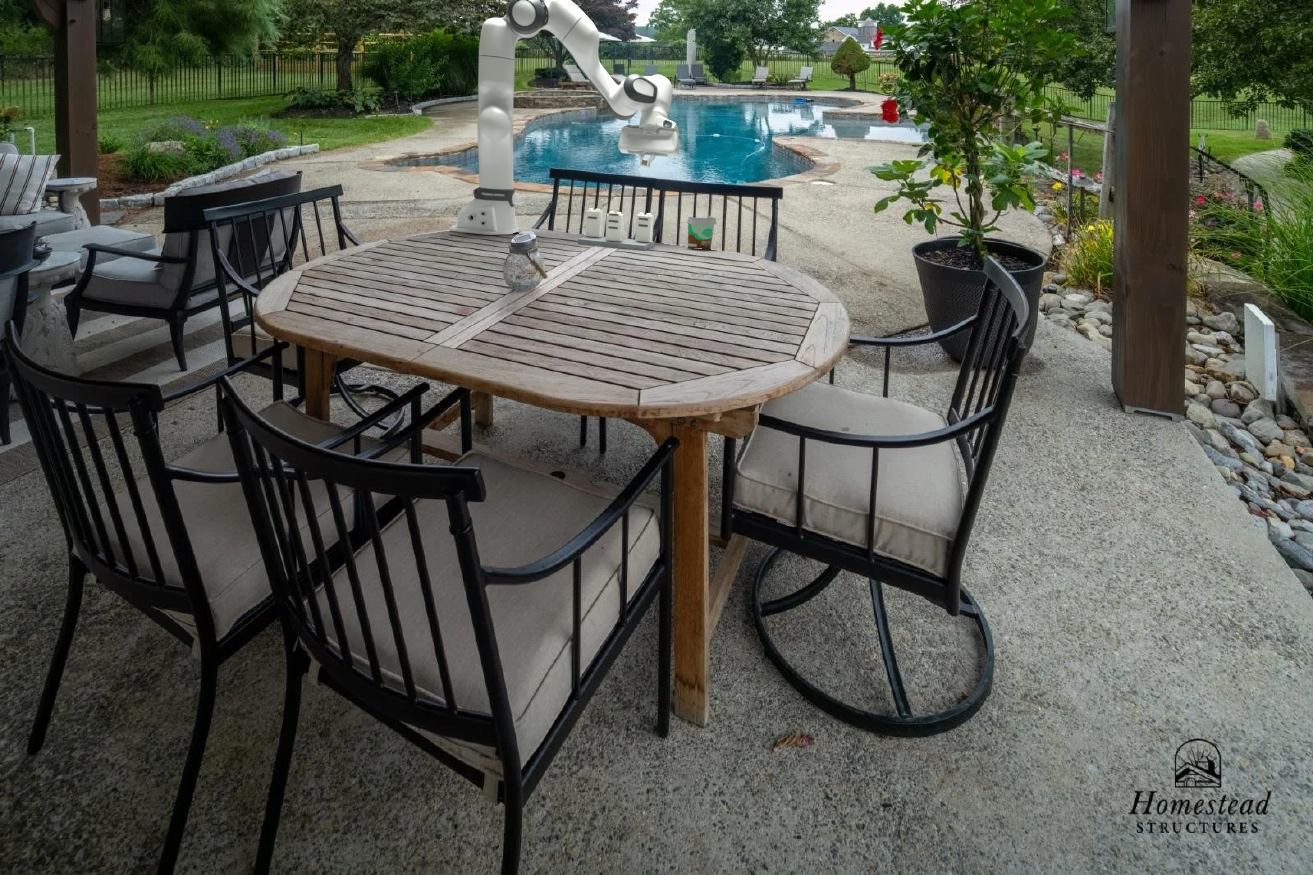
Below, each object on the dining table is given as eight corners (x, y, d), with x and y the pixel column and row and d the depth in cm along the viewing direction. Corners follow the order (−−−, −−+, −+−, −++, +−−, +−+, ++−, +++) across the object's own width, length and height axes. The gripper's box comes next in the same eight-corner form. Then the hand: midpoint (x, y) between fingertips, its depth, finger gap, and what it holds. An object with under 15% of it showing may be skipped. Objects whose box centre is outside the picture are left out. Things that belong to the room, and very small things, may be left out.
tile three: (605, 240, 238) (606, 211, 235) (608, 238, 241) (609, 210, 238) (619, 241, 237) (620, 213, 234) (623, 240, 240) (624, 212, 237)
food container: (700, 251, 241) (703, 219, 237) (685, 248, 244) (687, 216, 241) (721, 248, 250) (724, 217, 246) (706, 246, 254) (708, 215, 250)
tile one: (584, 236, 244) (585, 208, 241) (588, 235, 247) (589, 207, 244) (598, 237, 243) (599, 209, 240) (602, 236, 246) (603, 208, 243)
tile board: (577, 243, 239) (578, 239, 239) (590, 239, 250) (590, 235, 250) (644, 250, 235) (644, 245, 234) (654, 246, 245) (654, 241, 245)
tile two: (635, 241, 240) (636, 212, 237) (637, 239, 244) (639, 212, 240) (649, 242, 239) (651, 214, 236) (652, 241, 243) (653, 213, 239)
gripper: (620, 119, 245) (611, 159, 244) (680, 123, 240) (672, 164, 239) (625, 129, 251) (617, 168, 250) (684, 133, 247) (676, 173, 245)
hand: (644, 166), depth 245 cm, fingers closed
